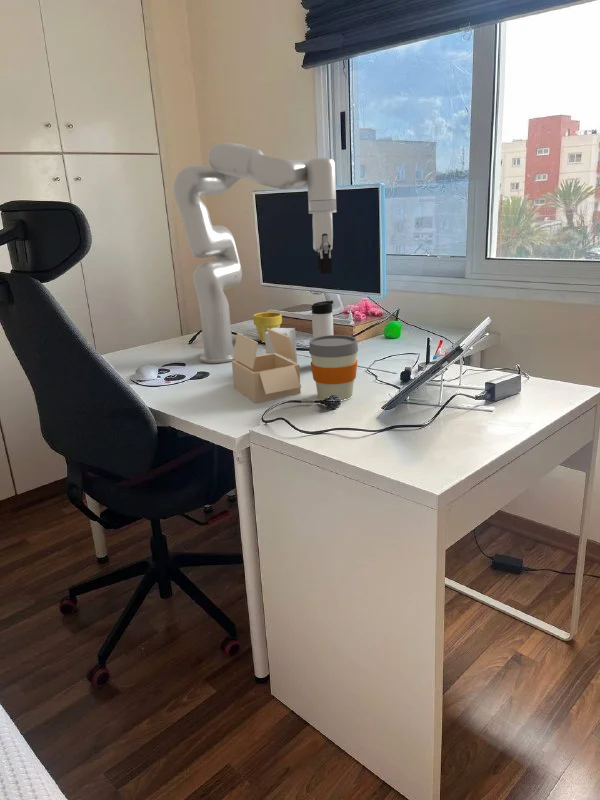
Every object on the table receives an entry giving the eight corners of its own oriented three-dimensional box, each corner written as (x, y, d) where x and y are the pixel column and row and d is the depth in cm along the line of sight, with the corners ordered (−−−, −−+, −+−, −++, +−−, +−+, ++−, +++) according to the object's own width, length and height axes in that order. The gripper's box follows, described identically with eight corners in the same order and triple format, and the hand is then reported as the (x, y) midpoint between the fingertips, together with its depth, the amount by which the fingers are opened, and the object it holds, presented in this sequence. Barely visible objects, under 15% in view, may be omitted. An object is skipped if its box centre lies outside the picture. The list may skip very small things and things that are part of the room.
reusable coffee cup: (324, 407, 150) (321, 349, 146) (303, 393, 161) (300, 339, 157) (368, 398, 155) (367, 341, 150) (345, 386, 166) (343, 332, 161)
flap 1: (258, 342, 153) (256, 342, 153) (253, 369, 154) (252, 369, 154) (238, 333, 165) (237, 332, 164) (234, 358, 166) (233, 357, 166)
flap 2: (266, 328, 168) (267, 328, 168) (274, 351, 171) (275, 350, 171) (287, 337, 156) (289, 336, 157) (295, 361, 159) (296, 360, 160)
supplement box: (298, 368, 185) (295, 327, 181) (290, 375, 179) (287, 333, 175) (275, 367, 188) (273, 327, 184) (266, 374, 181) (263, 332, 177)
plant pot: (287, 338, 225) (285, 311, 221) (276, 344, 215) (274, 317, 212) (262, 337, 228) (260, 311, 225) (250, 343, 219) (248, 317, 216)
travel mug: (334, 368, 183) (331, 302, 176) (312, 368, 184) (309, 303, 177) (337, 363, 188) (334, 299, 182) (316, 363, 190) (313, 299, 183)
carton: (229, 384, 173) (226, 357, 170) (271, 376, 178) (269, 350, 175) (261, 407, 153) (258, 376, 150) (307, 397, 159) (305, 367, 156)
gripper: (307, 207, 172) (309, 268, 177) (310, 208, 155) (313, 276, 161) (333, 205, 172) (335, 267, 177) (339, 207, 156) (341, 274, 161)
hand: (324, 271), depth 169 cm, fingers open, 9 cm apart
